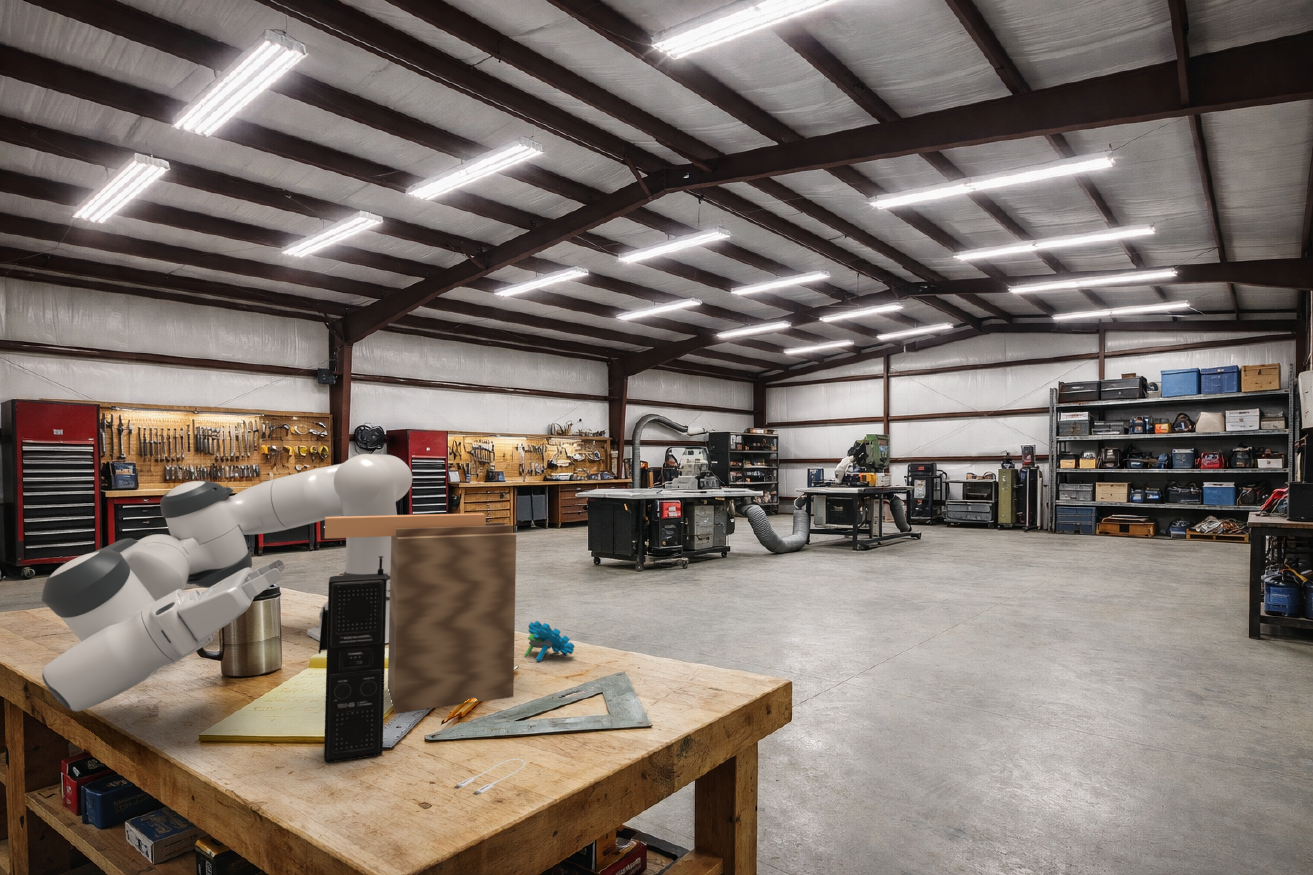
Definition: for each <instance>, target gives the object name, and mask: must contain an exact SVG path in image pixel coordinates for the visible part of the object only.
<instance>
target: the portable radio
mask: <svg viewBox="0 0 1313 875" xmlns="http://www.w3.org/2000/svg"><path fill="white" fill-rule="evenodd" d="M383 557H384V556H379V558H380V562H379V569H378V574H362V575H333V576H330V577H329V579H328V588H327V589H328V595H327V596H328V597H327V598H328V599H327V602H328V610H325V607H323V613H322V623H321V633H320V641H319V643H318V644H319V646H318V654H321V653H322V651H326V667H325V669H326V670H325V672H326V673H325V675H326V676H325V708H324V709H325V710H324V714H325V715H324V739H323V740H324V743H323V759H324V762H325V763H327V764H329V763H335V762H341V761H348V760H354V759H360V758H368V757H373V756H380V755H382V754H383V750H384V718H385V717H384V712H385V708H384V707H385V667H386V665H385V664H386V662H385V661H386V660H385V659H386V643H385V629H386V586H387V580H386V574H383V571H384V569H382V558H383Z"/></svg>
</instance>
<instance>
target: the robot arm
mask: <svg viewBox="0 0 1313 875" xmlns="http://www.w3.org/2000/svg"><path fill="white" fill-rule="evenodd" d="M412 483H413V473H412V471H411V468H410V467H409V466H408V464H406V462H405V461H403V460H402V459H401V458H399V457H397V456H394V455H392V454H378V453H377V454H375V453H361V454H358V455H354V456H353V457H351V458H349V459H347V460H346V461H344V462H343V463H338V464H333V465H328V466H322V467H317V468H314V469H310V470H309V469H308V470H306V471H301V472H298V473H297V472H296V473H293V474H290V475H286V476H282V477H277V478H274V479H270V480H266V481H264V482H261V483H258V484H255V485H252V486H251V487H247V488H246V489H244V490H243V489H242V490H241V491H240V492H237V493H236V494H235V495H231V496H230V494H232V493H234V489H233V488H231V487H229V486H226V487H225V486H222V485H221V484H220V483H217V482H214V481H210V480H204V479H203V480H194V481H193V480H192V481H187V482H183V483H181V484H179V485H177V486H175V487H173V488H172V489H171V490H169V491H167V492H166V493H165V494H164V495H163V496H162V498H161V499H160V502H159V503H160V504H159V505H160V506H159V507H160V512H161V515H162V518H164V519H165V521H166V525H167V529H168V532H169V534H170V535H169V534H162V533H161V534H160V533H159V534H157V533H156V534H150V535H146V536H145V537H143V538H142V537H141V539H138V540H137V539H134V538H130V537H129V538H123V539H120V540H117V541H115V542H113V543H111V544H109V545H107V546H104V547H103V548H100V549H97V550H96V551H93V552H90V553H86V554H83V555H80V556H78V557H76V558H73V559H71V560H69V561H68V562H66V563H64V564H62V565H60V566H59V567H58V568H57V569H55V570H54V572H52V573H51V574H50V575H49V576H48V577H47V578H46V580H45V583H44V586H43V589H42V593H41V602H43V603H44V604H45V605H46V606H47V607H48V608H49V609H50V610H51V611H52V612H53V613H54V614H55V615H57V616H58V617H59V618H60V619H61V620H62V621H63V622H64V623H65V625H66V626H67V627H68V628H69V629H70V630H71V631H72V633H73V634H74V635H75V636H76V637H77V638H78V640H79V642H78V643H76V644H75V645H73V646H72V647H70V648H69V649H68V650H65V651H64V652H62V653H61V654H60V655H58V656H57V657H55V658H53V659H52V660H51V661H49V663H47V664H46V665H45V666H44V667H42V670H41V671H42V674H41V676H42V677H41V678H42V679H43V683H44V684H45V687H47V689H48V691H49V693H51V695H52V696H53V697H54V698H55V699H56V700H57V702H59V703H60V704H61V705H62V707H65V708H66V709H68V710H69V711H74V712H82V711H85V710H87V709H89V708H93V707H95V706H98V705H100V704H102V703H104V702H106V701H108V700H110V699H112V698H114V697H117V696H118V695H120V694H123V693H124V692H126V691H128V690H130V689H132V688H134V687H136V686H137V685H138V684H141V683H143V682H144V681H146V680H147V679H149V677H150V676H151V675H153V674H154V673H155V672H156V671H158V670H159V669H162V668H164V667H167V666H169V665H172V664H175V663H177V662H179V661H181V660H183V659H184V658H186V657H188V656H189V655H191V654H193V653H195V652H197V651H198V650H200V649H202V648H204V647H205V646H208V645H209V644H210V643H212V642H213V641H214V634H215V633H217V632H218V631H220V630H221V629H222V628H224V627H226V626H227V625H229V624H231V623H232V622H233V621H234V620H236V619H237V618H239V617H240V616H241V615H242V614H244V613H245V612H246V611H248V610H249V608H250V607H251V604H252V602H253V600H254V598H255V597H256V596H258V595H260V594H261V593H262V592H263V591H265V590H266V589H268V588H269V587H270V586H273V585H274V584H275V583H278V582H279V581H281V580H282V578H283V574H282V572H283V571H284V570H285V569H286V564H285V563H284V561H283V560H282V559H281V558H277V559H275V560H274V561H272V562H270V563H268V564H265V565H262V566H260V567H258V568H256V569H254V570H253V569H252V567H253V558H252V553H251V550H250V549H248V545H247V542H246V539H245V536H244V535H260V534H261V535H262V534H269V533H276V532H282V531H286V530H289V529H290V530H291V529H294V528H298V527H302V526H306V525H311V524H314V523H317V522H322V521H325V517H345V516H387V515H398V512H397V505H396V502H398V501H399V500H401V499H402V498H403V497H404V496H405V495H406V494H407V493H408V491H409V490H410V488H411V486H412ZM345 541H346V542H345V554H346V555H345V571H344V572H343V573H339V574H338V576H343V575H362V574H378V569H379V562H380V558H379V556H384V557H383V558H382V569H384V571H383V574H386V580H387V586H386V629H385V644H389V612H390V570H391V536H381V537H352V538H345ZM187 585H196V586H198V587H200V588H205V590H204V591H200V590H199V589H194V590H192V591H191V592H187V591H185V590H184V589H185V588H186V586H187ZM323 607H325V610H328V601H326V602H325V603H324V604H323V605H322V606H321V609H320V612H319V614H318V615H319V617H318V618H319V625H317V626H314V627H311V628H308V629H307V631H306V635H307V636H309V637H312V638H313V639H314V640H316V641H319V642H320V633H321V623H322V613H323Z"/></svg>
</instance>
